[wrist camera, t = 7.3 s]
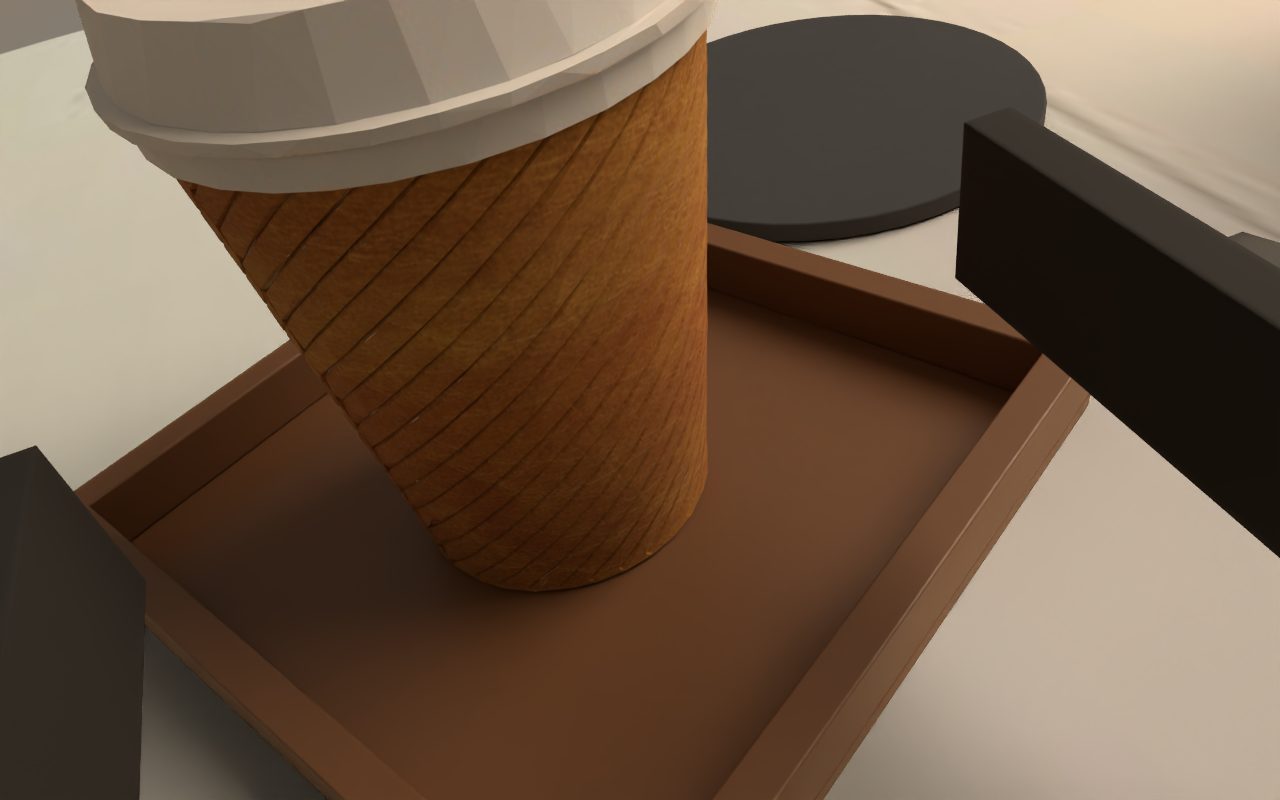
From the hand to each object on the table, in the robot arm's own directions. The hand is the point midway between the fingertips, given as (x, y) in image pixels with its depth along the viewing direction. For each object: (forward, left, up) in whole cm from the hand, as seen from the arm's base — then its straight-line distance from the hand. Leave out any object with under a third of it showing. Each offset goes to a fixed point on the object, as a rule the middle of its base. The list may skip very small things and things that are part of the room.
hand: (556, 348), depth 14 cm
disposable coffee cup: (-4, +2, -7) cm, 8 cm away
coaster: (-8, +19, -7) cm, 22 cm away
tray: (-4, +2, -7) cm, 9 cm away
